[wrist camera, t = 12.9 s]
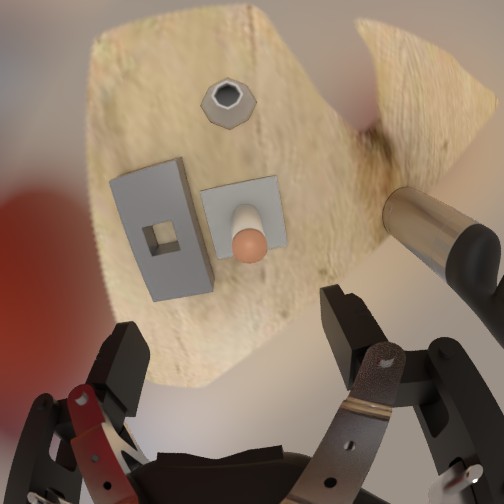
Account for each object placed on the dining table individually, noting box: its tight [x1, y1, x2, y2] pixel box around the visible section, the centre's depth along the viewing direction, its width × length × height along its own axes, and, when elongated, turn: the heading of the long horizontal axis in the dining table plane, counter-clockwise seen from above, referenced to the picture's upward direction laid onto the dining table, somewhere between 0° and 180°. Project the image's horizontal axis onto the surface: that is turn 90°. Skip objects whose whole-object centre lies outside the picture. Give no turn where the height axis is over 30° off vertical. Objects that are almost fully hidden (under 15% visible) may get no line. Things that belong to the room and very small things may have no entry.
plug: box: [232, 204, 267, 263], centre depth 36 cm, size 4×4×10 cm
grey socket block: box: [109, 157, 214, 302], centre depth 39 cm, size 10×20×4 cm, turn 11°
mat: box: [200, 175, 288, 259], centre depth 40 cm, size 11×11×1 cm
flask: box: [200, 78, 257, 130], centre depth 29 cm, size 7×7×10 cm
